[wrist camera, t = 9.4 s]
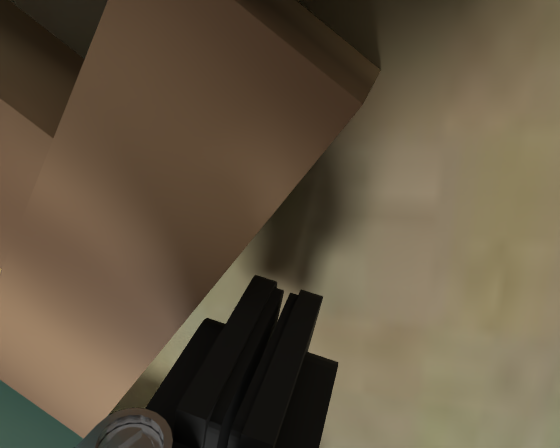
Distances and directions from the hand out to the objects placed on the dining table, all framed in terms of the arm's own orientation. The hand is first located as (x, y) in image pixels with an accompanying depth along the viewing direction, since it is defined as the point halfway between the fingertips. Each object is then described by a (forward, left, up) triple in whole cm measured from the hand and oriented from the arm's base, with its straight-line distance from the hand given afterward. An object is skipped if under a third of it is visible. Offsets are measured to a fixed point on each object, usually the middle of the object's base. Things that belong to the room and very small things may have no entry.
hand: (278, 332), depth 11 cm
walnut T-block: (-3, -7, -2) cm, 8 cm away
